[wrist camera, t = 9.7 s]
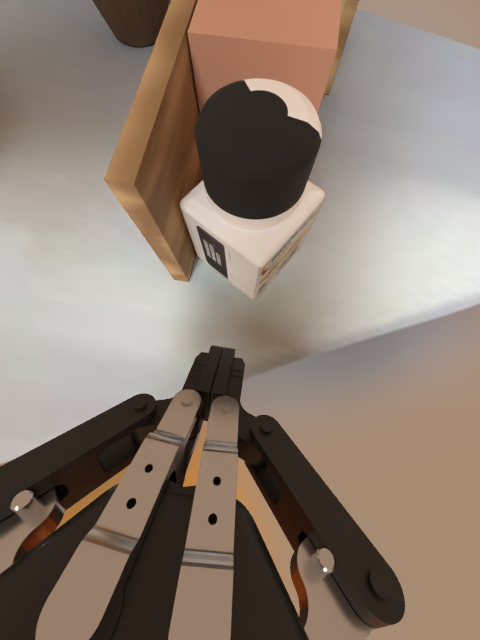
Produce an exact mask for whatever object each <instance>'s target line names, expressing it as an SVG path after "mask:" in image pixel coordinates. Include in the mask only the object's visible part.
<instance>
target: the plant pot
mask: <svg viewBox="0 0 480 640" xmlns="http://www.w3.org/2000/svg"><path fill="white" fill-rule="evenodd" d="M93 2H94V3H95V5H96V7H97V8H98V10H99V11H100V13H101V15H102V16H103V18H104V19H105V21H106V22H107V24H108V26H109V27H110V29H111V30H112V32H113V33H114V35H115V36H116V37H117V39H118V40H119V41H121V42H122V43H124V44H127V45H130V46H137V47H140V46H148V45H151V44H154V43H155V42H156V39H157V37H158V34H159V31H160V29H161V26H162V23H163V21H164V18H165V15H166V13H167V10H168V0H93Z"/></svg>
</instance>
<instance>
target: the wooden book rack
mask: <svg viewBox="0 0 480 640" xmlns="http://www.w3.org/2000/svg"><path fill="white" fill-rule="evenodd" d="M197 1H198V0H171V2H170V5H169V7H168V10H167V13H166V15H165V18H164V21H163V23H162V26H161V29H160V31H159V34H158V37H157V39H156V42H155V45H154V48H153V50H152V53H151V56H150V58H149V61H148V64H147V66H146V69H145V72H144V74H143V77H142V80H141V82H140V85H139V88H138V90H137V93H136V96H135V98H134V101H133V104H132V106H131V109H130V112H129V115H128V117H127V120H126V123H125V125H124V128H123V131H122V133H121V136H120V139H119V141H118V144H117V147H116V149H115V152H114V155H113V157H112V160H111V163H110V165H109V168H108V171H107V174H106V176H105V179H104V180H105V182H106V183H107V185H108V186H109V187H110V189H111V190H112V192H113V193H114V194H115V196H116V197H117V199H118V200H119V202H120V203H121V204H122V206H123V207H124V209H125V210H126V212H127V213H128V214H129V216H130V217H131V219H132V220H133V222H134V223H135V224H136V226H137V227H138V229H139V230H140V231H141V233H142V234H143V236H144V237H145V239H146V240H147V241H148V243H149V244H150V246H151V247H152V249H153V250H154V251H155V253H156V254H157V256H158V257H159V258H160V260H161V261H162V263H163V264H164V266H165V267H166V268H167V270H168V271H169V273H170V274H171V276H172V277H173V278H174V280H180V281H186V282H189V279H190V275H191V271H192V266H193V262H194V258H195V254H196V250H195V247H194V244H193V242H192V239H191V236H190V233H189V231H188V228H187V225H186V222H185V220H184V217H183V214H182V211H181V208H180V201H181V200H182V199H183V198H184V197H185V196H186V195H187V194H188V193H189V192H190V191H191V190H192V189H193V188H195V187H196V186H197V185H198V184H199V183H200V182H201V181H202V180H203V176H202V171H201V166H200V161H199V155H198V150H197V145H196V139H195V124H196V120H197V117H198V115H199V113H200V111H199V104H198V98H197V92H196V85H195V79H194V72H193V66H192V59H191V53H190V46H189V40H188V33H187V32H188V29H189V26H190V23H191V20H192V17H193V14H194V10H195V7H196V4H197ZM358 1H359V0H345V4H344V7H343V11H342V14H341V18H340V25H339V35H338V45H337V52H336V55H335V58H334V62H333V65H332V68H331V71H330V75H329V78H328V81H327V85H326V88H325V91H324V94H329V92H330V89H331V86H332V83H333V80H334V76H335V73H336V70H337V67H338V64H339V61H340V58H341V55H342V51H343V48H344V45H345V42H346V39H347V36H348V33H349V30H350V26H351V23H352V20H353V17H354V14H355V11H356V8H357V5H358Z"/></svg>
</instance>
